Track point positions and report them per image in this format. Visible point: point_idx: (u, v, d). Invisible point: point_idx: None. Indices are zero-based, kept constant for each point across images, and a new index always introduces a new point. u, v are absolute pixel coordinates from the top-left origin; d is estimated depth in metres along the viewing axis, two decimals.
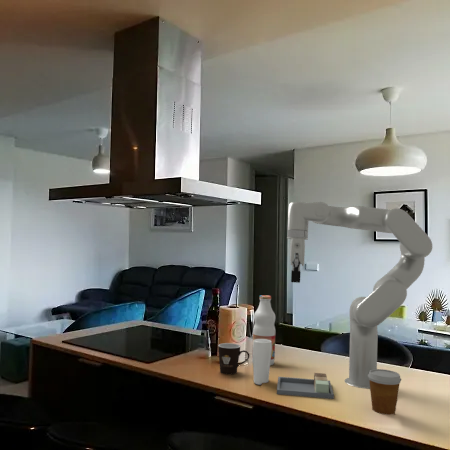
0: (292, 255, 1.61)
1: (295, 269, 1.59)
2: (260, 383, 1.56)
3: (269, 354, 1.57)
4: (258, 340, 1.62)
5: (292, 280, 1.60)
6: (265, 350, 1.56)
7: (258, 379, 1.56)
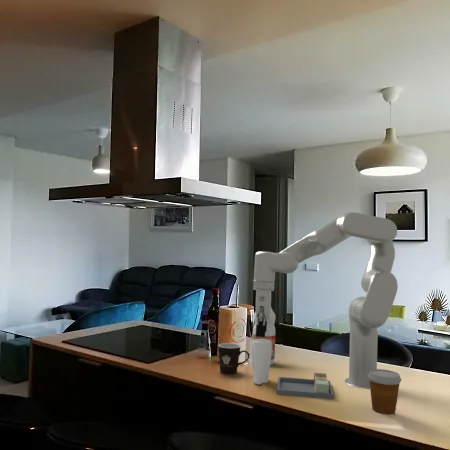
0: (257, 308, 1.55)
1: (260, 323, 1.53)
2: (260, 383, 1.56)
3: (269, 354, 1.57)
4: (258, 340, 1.62)
5: (257, 334, 1.55)
6: (265, 350, 1.56)
7: (258, 379, 1.56)
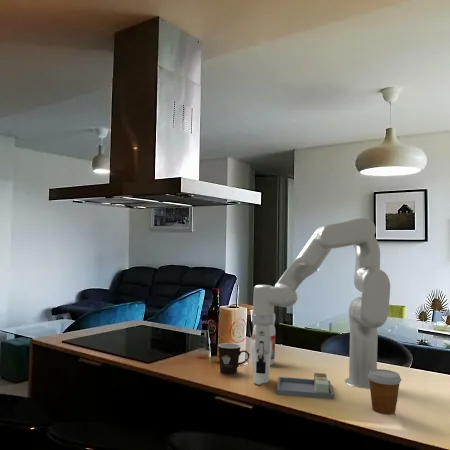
0: (257, 343, 1.55)
1: (260, 360, 1.54)
2: (260, 383, 1.56)
3: (269, 354, 1.57)
4: None
5: (257, 371, 1.55)
6: None
7: (258, 379, 1.56)
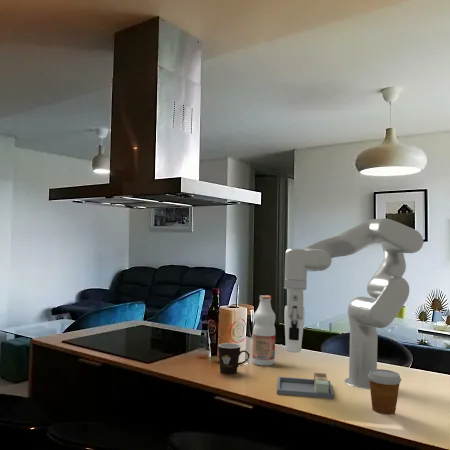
0: (290, 308, 1.48)
1: (293, 326, 1.47)
2: (293, 350, 1.49)
3: (302, 320, 1.50)
4: None
5: (290, 337, 1.49)
6: None
7: (291, 346, 1.49)
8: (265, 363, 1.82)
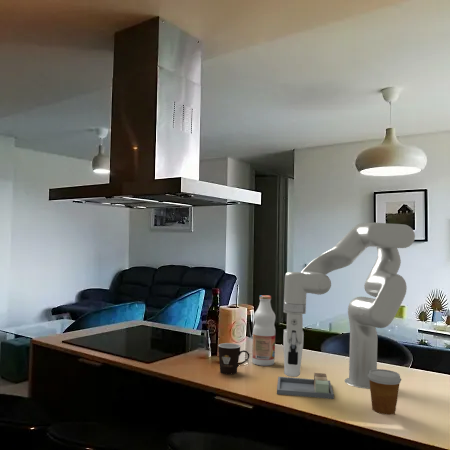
0: (289, 332, 1.47)
1: (292, 351, 1.47)
2: (292, 375, 1.49)
3: (301, 344, 1.50)
4: None
5: (289, 362, 1.48)
6: None
7: (289, 371, 1.49)
8: (265, 363, 1.82)
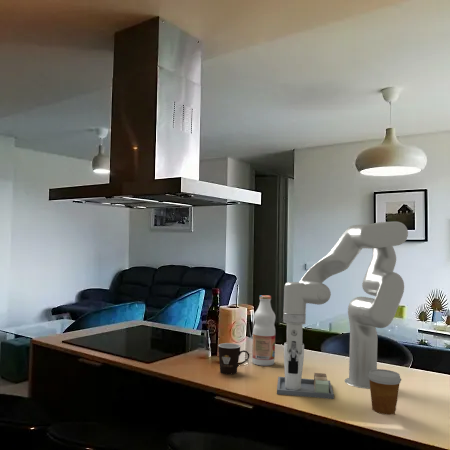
0: (289, 343, 1.47)
1: (292, 360, 1.45)
2: (292, 388, 1.48)
3: (302, 358, 1.49)
4: None
5: (289, 371, 1.47)
6: (298, 354, 1.48)
7: (290, 384, 1.48)
8: (265, 363, 1.82)
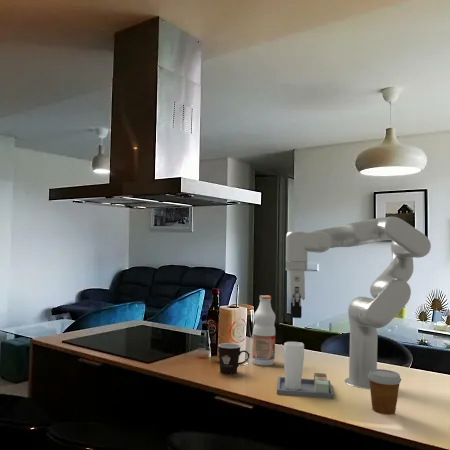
0: (292, 289, 1.52)
1: (296, 304, 1.50)
2: (292, 388, 1.48)
3: (302, 358, 1.49)
4: (289, 343, 1.54)
5: (293, 315, 1.51)
6: (298, 354, 1.48)
7: (290, 384, 1.48)
8: (265, 363, 1.82)
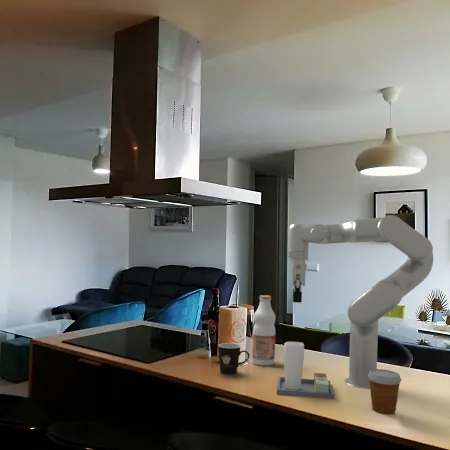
0: (293, 276, 1.67)
1: (296, 290, 1.65)
2: (292, 388, 1.48)
3: (302, 358, 1.49)
4: (289, 343, 1.54)
5: (294, 300, 1.66)
6: (298, 354, 1.48)
7: (290, 384, 1.48)
8: (265, 363, 1.82)
